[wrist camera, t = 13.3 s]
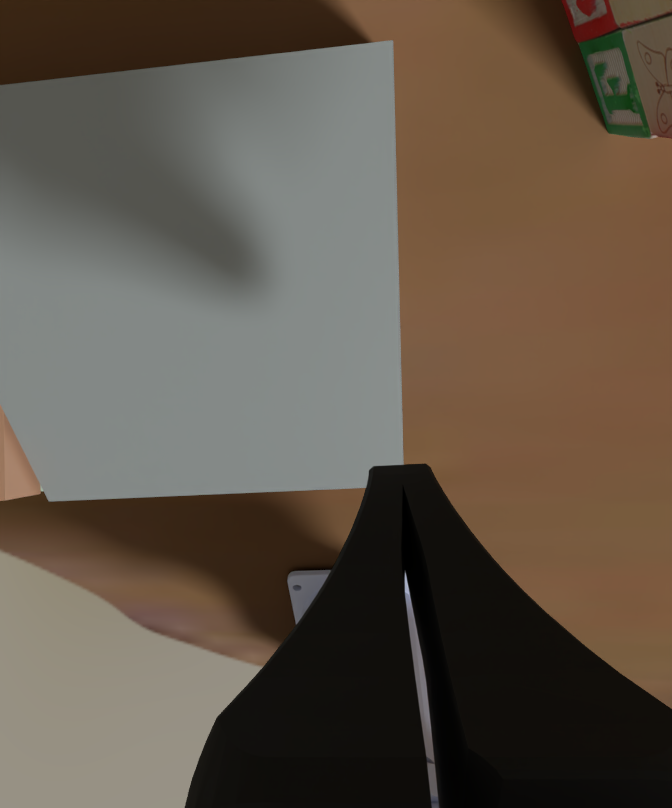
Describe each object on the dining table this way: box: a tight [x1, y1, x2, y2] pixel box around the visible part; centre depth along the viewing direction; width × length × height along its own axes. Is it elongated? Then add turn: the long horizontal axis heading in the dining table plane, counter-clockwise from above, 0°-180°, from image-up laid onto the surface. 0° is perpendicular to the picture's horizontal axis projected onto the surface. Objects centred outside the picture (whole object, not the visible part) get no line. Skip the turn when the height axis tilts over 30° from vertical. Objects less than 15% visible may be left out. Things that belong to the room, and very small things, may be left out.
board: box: [0, 40, 403, 502], centre depth 18 cm, size 14×15×4 cm
